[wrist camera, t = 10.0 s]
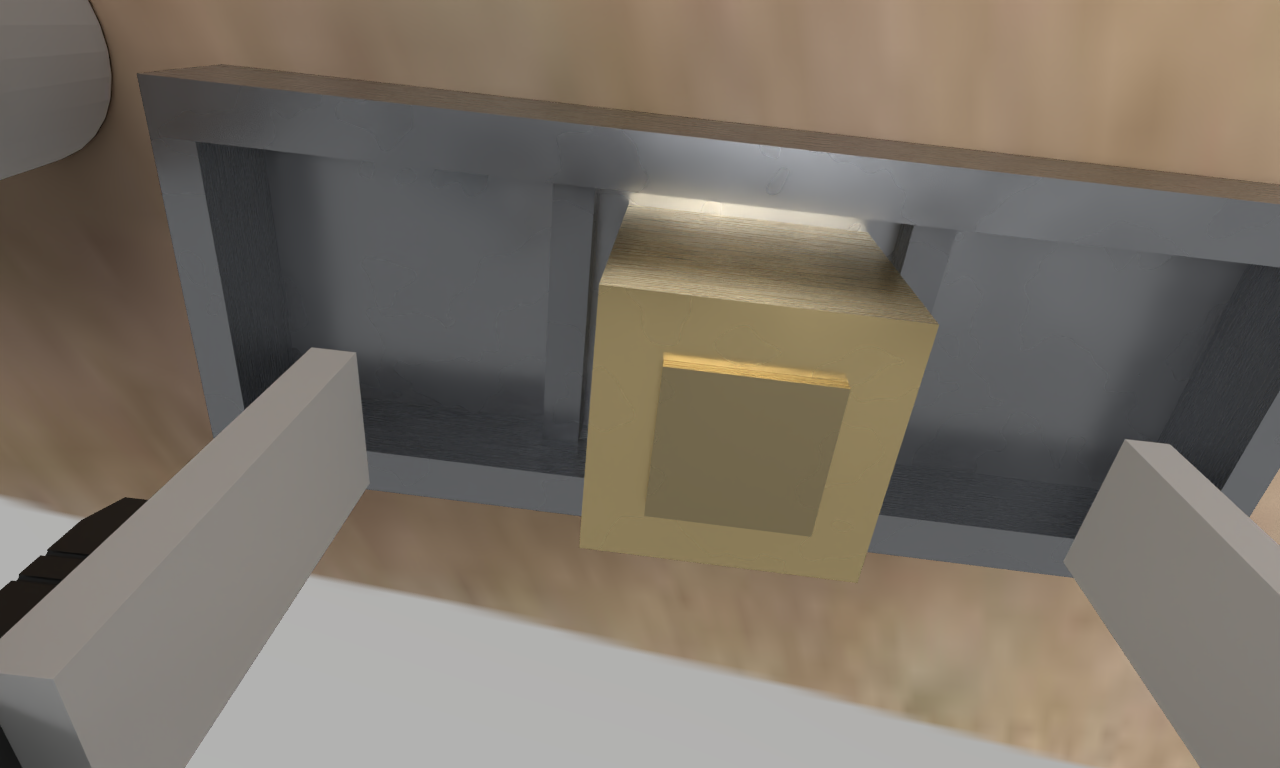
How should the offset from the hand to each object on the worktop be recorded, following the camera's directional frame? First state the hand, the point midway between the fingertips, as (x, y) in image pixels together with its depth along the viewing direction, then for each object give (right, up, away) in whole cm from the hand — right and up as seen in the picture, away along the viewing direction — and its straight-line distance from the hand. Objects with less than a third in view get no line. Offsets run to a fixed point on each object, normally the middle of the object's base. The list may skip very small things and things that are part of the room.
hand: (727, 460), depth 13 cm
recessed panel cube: (+1, +3, +7) cm, 7 cm away
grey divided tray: (+1, +3, +7) cm, 8 cm away
